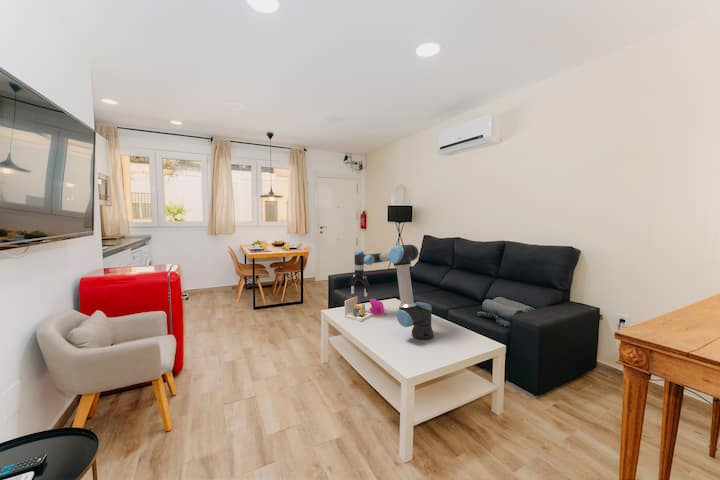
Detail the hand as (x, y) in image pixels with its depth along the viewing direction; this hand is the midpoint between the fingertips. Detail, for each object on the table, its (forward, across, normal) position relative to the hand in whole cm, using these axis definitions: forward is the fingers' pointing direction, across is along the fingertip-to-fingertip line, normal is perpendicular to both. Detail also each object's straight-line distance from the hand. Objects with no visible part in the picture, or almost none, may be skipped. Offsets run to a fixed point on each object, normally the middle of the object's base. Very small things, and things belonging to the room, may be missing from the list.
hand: (359, 295), depth 239 cm
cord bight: (+16, 0, 0) cm, 16 cm away
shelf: (+19, 0, 0) cm, 19 cm away
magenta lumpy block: (+19, -6, -18) cm, 27 cm away
